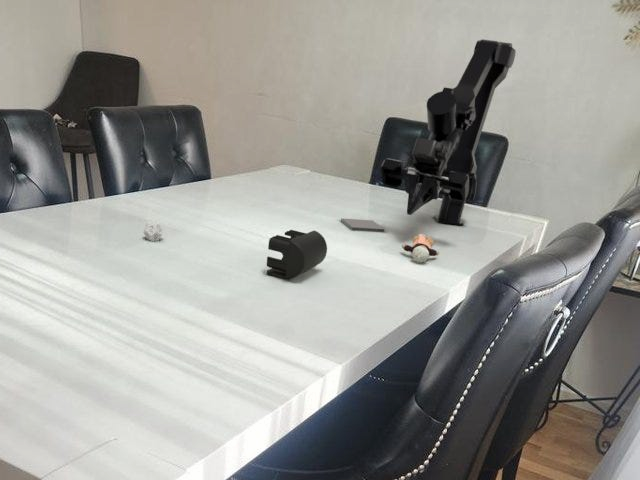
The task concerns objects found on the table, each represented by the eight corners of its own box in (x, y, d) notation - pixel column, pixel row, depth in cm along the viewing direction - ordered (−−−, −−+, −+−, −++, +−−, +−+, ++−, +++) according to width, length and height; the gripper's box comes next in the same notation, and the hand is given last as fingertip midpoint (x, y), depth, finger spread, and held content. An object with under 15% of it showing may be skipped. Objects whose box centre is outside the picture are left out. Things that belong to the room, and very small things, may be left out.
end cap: (300, 285, 110) (306, 244, 106) (264, 275, 112) (268, 235, 108) (324, 272, 117) (330, 234, 114) (289, 263, 120) (294, 225, 116)
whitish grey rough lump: (139, 238, 122) (139, 221, 120) (155, 236, 124) (155, 219, 123) (151, 243, 120) (151, 226, 119) (166, 240, 123) (167, 224, 121)
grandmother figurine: (439, 233, 137) (441, 244, 126) (437, 252, 139) (439, 265, 128) (402, 233, 138) (401, 244, 127) (401, 251, 140) (400, 264, 129)
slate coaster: (340, 220, 153) (341, 218, 153) (372, 222, 155) (372, 220, 155) (351, 230, 147) (352, 227, 146) (384, 231, 149) (384, 229, 148)
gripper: (393, 115, 134) (362, 178, 132) (481, 130, 127) (450, 197, 125) (398, 154, 144) (370, 213, 142) (479, 170, 138) (451, 232, 136)
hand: (408, 213), depth 136 cm, fingers closed
